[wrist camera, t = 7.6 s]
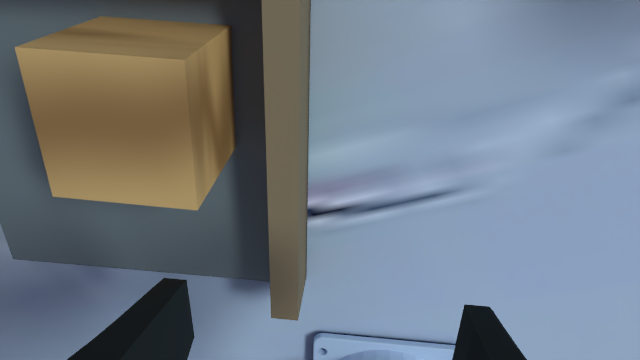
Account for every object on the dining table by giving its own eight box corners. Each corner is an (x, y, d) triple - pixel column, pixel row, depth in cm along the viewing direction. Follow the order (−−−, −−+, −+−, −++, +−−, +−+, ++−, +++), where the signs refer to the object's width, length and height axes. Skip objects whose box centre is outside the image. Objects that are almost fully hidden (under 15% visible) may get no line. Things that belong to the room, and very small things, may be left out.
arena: (306, 276, 24) (297, 320, 21) (20, 251, 25) (-21, 290, 23) (311, -60, 17) (299, -56, 14) (-89, -73, 18) (-169, -72, 15)
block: (235, 147, 20) (197, 210, 16) (120, 137, 21) (52, 196, 16) (230, 25, 18) (184, 59, 14) (100, 16, 18) (14, 46, 14)
